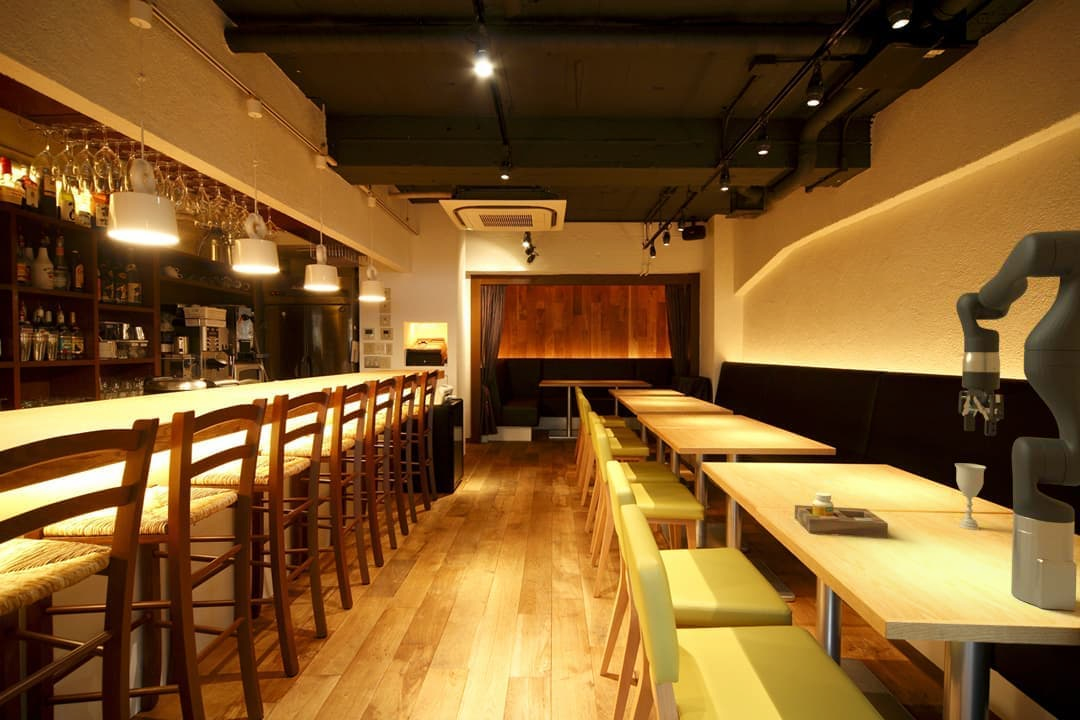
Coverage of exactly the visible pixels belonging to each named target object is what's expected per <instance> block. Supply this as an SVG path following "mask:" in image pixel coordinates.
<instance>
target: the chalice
mask: <svg viewBox="0 0 1080 720" xmlns="http://www.w3.org/2000/svg"><path fill="white" fill-rule="evenodd" d="M954 466H955V467H956V478H955V479H956V483H957V484H956V485H957V486H958V489H959V491H960V492H961V494H962V496H964V497H965V498H966V503H965V505H966V508H965V512H966V516H965V517H962V518H961V519H960V521H959V523H958V524H957V526H958V527H959V528H962V529H966V530H971V531H979V530H980V527H979V524H978V522H977V521H976V519H973V517H972V512H974V511H973V509H972V506H973V505H974V504H973V503H972V500H973V498H976V497H977V496H978V494H979V493H980V491H981V490H982V488H983V485H984V474H985V473H984V472H985V470H986V469H987V467H986V466H985V465H980V464H976V463H964V462H963V463H961V462H958V463H954Z"/></svg>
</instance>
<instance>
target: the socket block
mask: <svg viewBox="0 0 1080 720" xmlns="http://www.w3.org/2000/svg"><path fill="white" fill-rule="evenodd" d="M794 519H795V520H796V521H797V522H798V524H800V525H801V526H802V528H804V529H805V530H806V532H808V534H816V533H817V534H818V535H819V534H820V535H832V534H838V535H837V536H848V535H853V537H865V536H867V537H868V538H883V539H888V537H889V535H888V534H889V532H888V530H889V529H888V527H889V523H888V522H887V521H885V520H884V519H882V518H880V517H879V516H878V515H876V513H873V511H872V512H871V511H870V510H869V509H867V508H856V507H855V508H854V507H840V506H839V507H838V506H837V507H836V506H833V516H823V515H819V516H813V505H803V504H802V505H801V504H795V505H794ZM867 537H866V538H867Z"/></svg>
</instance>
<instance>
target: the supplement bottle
mask: <svg viewBox="0 0 1080 720" xmlns="http://www.w3.org/2000/svg"><path fill="white" fill-rule="evenodd" d="M814 495H815V496H814V497H815V499H814V500H813V501H812V506H813V516H819V515H823V516H833V507H834V503H833V502H832V501H831V500H832V495H831V494H830V493H828V492H815V494H814Z"/></svg>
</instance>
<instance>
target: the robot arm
mask: <svg viewBox="0 0 1080 720" xmlns="http://www.w3.org/2000/svg"><path fill="white" fill-rule="evenodd" d="M1029 277H1030V278H1035V279H1036V278H1038V279H1039V278H1040V279H1041V278H1058V277H1059V285H1058V291H1057V294H1056V297H1055V299H1054V302H1053V303H1052V305H1051V306H1050V307H1049V309H1048V310H1047V312H1046V313H1045V314H1044V316H1043V317H1042V318H1041V319H1040V320H1039V321H1038V322H1037V323H1036V324H1035V326H1034V327H1033V328H1032V330H1030V332H1029V334H1028V335H1027V337H1026V339H1025V341H1024V345H1023V373H1024V376H1025V378H1026V380H1027V381H1028V383H1029V384H1030V386H1031V387H1032V388H1033V390H1034V391H1035V392H1036V393H1037V395H1038V396H1039V398H1041V400H1042V401H1044V403H1045V404H1046V406H1047V407H1048V408H1049V410H1050V411H1051V413H1052V414H1053V417H1054V418H1055V421H1056V424H1057V427H1058V431H1059V433H1058V434H1059V438H1049V437H1048V438H1047V437H1032V436H1019V437H1018V438H1016V439H1015V440H1014V443H1013V445H1012V448H1011V449H1012V450H1011V469H1012V501H1013V502H1012V504H1013V506H1012V507H1013V508H1012V510H1013V511H1012V543H1011V544H1012V545H1011V547H1012V548H1011V589H1010V591H1011V595H1013V597H1014V598H1017V599H1018V600H1021V601H1023V602H1025V603H1028V604H1031V605H1034V606H1036V607H1038V608H1040V609H1049V610H1051V609H1052V610H1061V611H1062V610H1063V611H1077V610H1076V609H1077V608H1076V605H1077V604H1076V603H1077V602H1076V601H1077V600H1076V599H1077V596H1076V595H1077V570H1078V569H1077V567H1078V565H1077V563H1076V562H1075V561H1074V550H1075V548H1074V544H1075V543H1074V541H1075V517H1076V516H1075V509H1074V507H1073V506H1071V504H1069V503H1067V502H1064V501H1061V500H1058V499H1055V498H1053V497H1050V496H1048V495H1046V494H1045V493H1043V492H1041V491H1039V489H1038V487H1037V484H1044V485H1045V484H1047V485H1060V486H1068V487H1070V486H1071V487H1077V486H1080V229H1075V230H1074V229H1073V230H1069V229H1068V230H1053V231H1050V230H1049V231H1035V232H1031V233H1028V234H1026V235H1024V236H1023V237H1021V239H1020V240H1019V241H1017V243H1016V244H1015V246H1014V247H1013V248H1012V250H1011V251H1010V253H1009V254H1008V256H1007V257H1006V259H1005V261H1004V262H1003V263H1002V265H1001V267H1000V269H999V270H998V272H997V273H996V274H995V275H994V276H993V277H991V279H990V280H989V281H987V282H986V283H984V285H982V287H981V288H980V289H979V290H978V292H966V293H963V294H961V295H960V296H959V297H958V299H957V301H956V303H955V304H956V305H955V306H956V307H955V310H956V313H957V315H958V318H959V321H960V325H961V328H962V332H963V339H964V340H963V343H964V344H963V345H964V346H963V349H964V350H963V356H962V357H963V358H962V366H961V367H962V370H961V373H962V374H961V375H962V376H961V378H962V379H961V386H962V388H964V389H967V390H960V391H959V395H958V408H957V409H958V413H959V414H961V415H962V416H963V421H964V422H963V430H964V431H966V432H975V430H976V417H975V416H976V415H977V412H978V411H979V413H980V414H982V415H983V417H984V419H985V420H984V435H985V436H988V437H990V436H991V437H995V436H997V422H998V421H1000V420H1003V419H1004V417H1005V412H1004V411H1005V410H1004V409H1005V406H1004V405H1005V403H1004V399H1005V398H1004V395H1003V394H995V392H994V390H999V389H1000V387H1001V386H1000V385H1001V384H1000V383H1001V359H1000V357H1001V356H1000V333H999V331H998V330H995V329H992V328H985V327H982V326H980V325H979V323H978V321H985V320H986V321H991V320H992V321H994V320H1000V319H1003V318H1005V317H1006V316H1007V315H1008V313H1009V310H1010V308H1011V306H1012V304H1013V303H1014V302H1016V301H1017V300H1019V299H1020V298H1021V297H1022V296H1023V295H1024V294H1025V293H1026V291H1027V290H1028V287H1029V281H1028V278H1029ZM997 412H998V413H997Z"/></svg>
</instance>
